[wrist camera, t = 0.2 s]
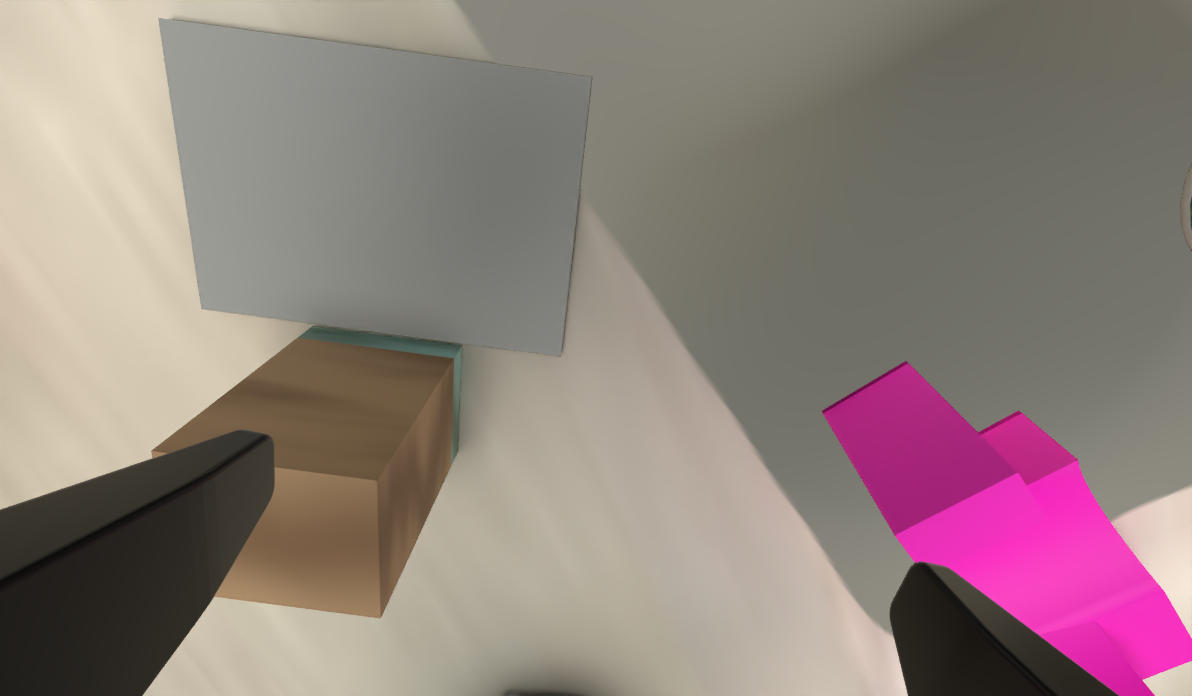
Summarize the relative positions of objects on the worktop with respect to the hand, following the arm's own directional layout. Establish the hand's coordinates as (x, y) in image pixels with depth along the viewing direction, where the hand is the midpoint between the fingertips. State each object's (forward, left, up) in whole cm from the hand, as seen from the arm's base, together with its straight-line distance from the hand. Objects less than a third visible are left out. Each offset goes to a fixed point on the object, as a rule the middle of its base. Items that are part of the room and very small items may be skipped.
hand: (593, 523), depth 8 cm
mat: (+1, +9, -15) cm, 17 cm away
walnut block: (-7, +9, -15) cm, 19 cm away
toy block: (-9, -17, -16) cm, 25 cm away
